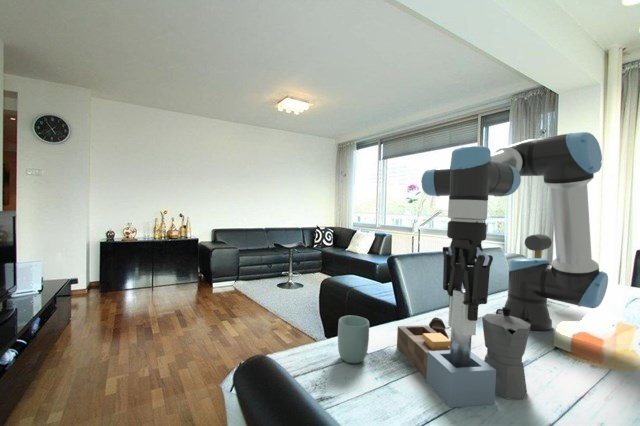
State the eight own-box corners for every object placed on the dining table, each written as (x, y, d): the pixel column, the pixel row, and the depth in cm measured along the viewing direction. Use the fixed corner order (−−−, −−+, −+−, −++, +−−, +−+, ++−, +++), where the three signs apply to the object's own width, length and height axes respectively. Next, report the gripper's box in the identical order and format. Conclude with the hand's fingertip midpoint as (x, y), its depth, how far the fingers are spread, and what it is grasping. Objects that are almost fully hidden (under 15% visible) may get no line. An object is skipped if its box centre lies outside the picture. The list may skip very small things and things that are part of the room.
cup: (333, 363, 76) (334, 323, 76) (341, 350, 84) (343, 313, 83) (364, 370, 74) (365, 328, 73) (370, 356, 81) (372, 318, 81)
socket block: (426, 346, 88) (427, 325, 88) (461, 376, 72) (462, 351, 72) (396, 347, 87) (397, 326, 86) (425, 379, 71) (427, 353, 71)
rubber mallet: (538, 303, 135) (542, 235, 134) (520, 299, 141) (523, 233, 140) (550, 299, 142) (553, 234, 141) (531, 295, 148) (534, 233, 147)
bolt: (438, 333, 103) (440, 351, 89) (425, 323, 104) (424, 339, 90) (448, 319, 102) (451, 335, 88) (435, 310, 103) (435, 323, 89)
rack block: (466, 379, 72) (467, 349, 71) (494, 403, 63) (496, 369, 62) (426, 381, 70) (427, 351, 70) (449, 407, 61) (451, 372, 61)
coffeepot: (536, 411, 61) (540, 320, 60) (482, 398, 64) (486, 312, 64) (517, 373, 75) (521, 299, 75) (474, 364, 79) (478, 294, 78)
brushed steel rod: (445, 361, 68) (449, 288, 67) (462, 360, 68) (465, 288, 68) (456, 370, 64) (460, 293, 63) (474, 369, 64) (478, 293, 64)
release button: (439, 359, 78) (440, 332, 78) (450, 369, 73) (451, 341, 73) (421, 360, 77) (422, 333, 77) (431, 370, 72) (433, 341, 72)
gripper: (514, 223, 58) (507, 347, 58) (458, 219, 75) (453, 315, 75) (478, 222, 56) (471, 349, 57) (429, 218, 73) (424, 316, 74)
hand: (461, 329), depth 66 cm, fingers closed on brushed steel rod, 4 cm apart
